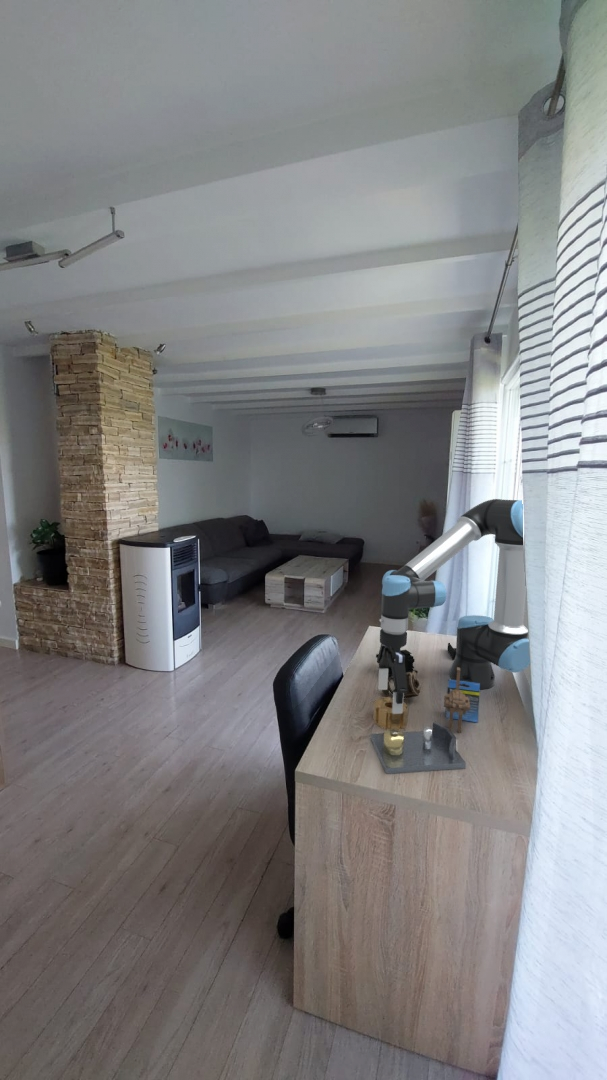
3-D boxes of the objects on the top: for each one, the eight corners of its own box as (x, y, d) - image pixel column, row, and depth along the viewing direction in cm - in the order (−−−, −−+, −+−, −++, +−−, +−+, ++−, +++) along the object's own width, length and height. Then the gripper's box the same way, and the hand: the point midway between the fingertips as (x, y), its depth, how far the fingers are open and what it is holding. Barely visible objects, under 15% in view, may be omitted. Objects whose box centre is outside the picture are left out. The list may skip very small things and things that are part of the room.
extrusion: (420, 679, 152) (422, 653, 150) (390, 685, 147) (391, 658, 146) (400, 665, 163) (401, 640, 162) (371, 670, 159) (372, 645, 157)
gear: (400, 711, 130) (400, 696, 129) (411, 729, 121) (411, 713, 120) (370, 713, 129) (370, 697, 128) (378, 731, 120) (379, 714, 119)
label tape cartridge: (476, 716, 128) (479, 677, 127) (478, 723, 125) (480, 683, 123) (445, 711, 131) (447, 673, 129) (445, 718, 127) (448, 679, 125)
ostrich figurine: (442, 722, 125) (446, 664, 123) (467, 727, 123) (471, 668, 121) (441, 757, 109) (445, 691, 107) (469, 763, 107) (474, 696, 105)
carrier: (440, 734, 119) (442, 712, 118) (465, 768, 105) (467, 743, 104) (370, 738, 116) (371, 716, 115) (386, 773, 102) (387, 748, 102)
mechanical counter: (421, 709, 132) (423, 678, 130) (379, 704, 134) (381, 674, 133) (420, 697, 139) (421, 668, 137) (380, 693, 141) (381, 664, 140)
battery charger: (479, 653, 176) (479, 644, 176) (486, 663, 167) (487, 653, 166) (447, 651, 178) (447, 642, 177) (452, 661, 168) (453, 651, 168)
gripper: (369, 616, 133) (365, 681, 136) (395, 647, 108) (390, 724, 111) (392, 616, 134) (388, 680, 137) (423, 646, 109) (418, 723, 112)
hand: (389, 700), depth 124 cm, fingers open, 13 cm apart
